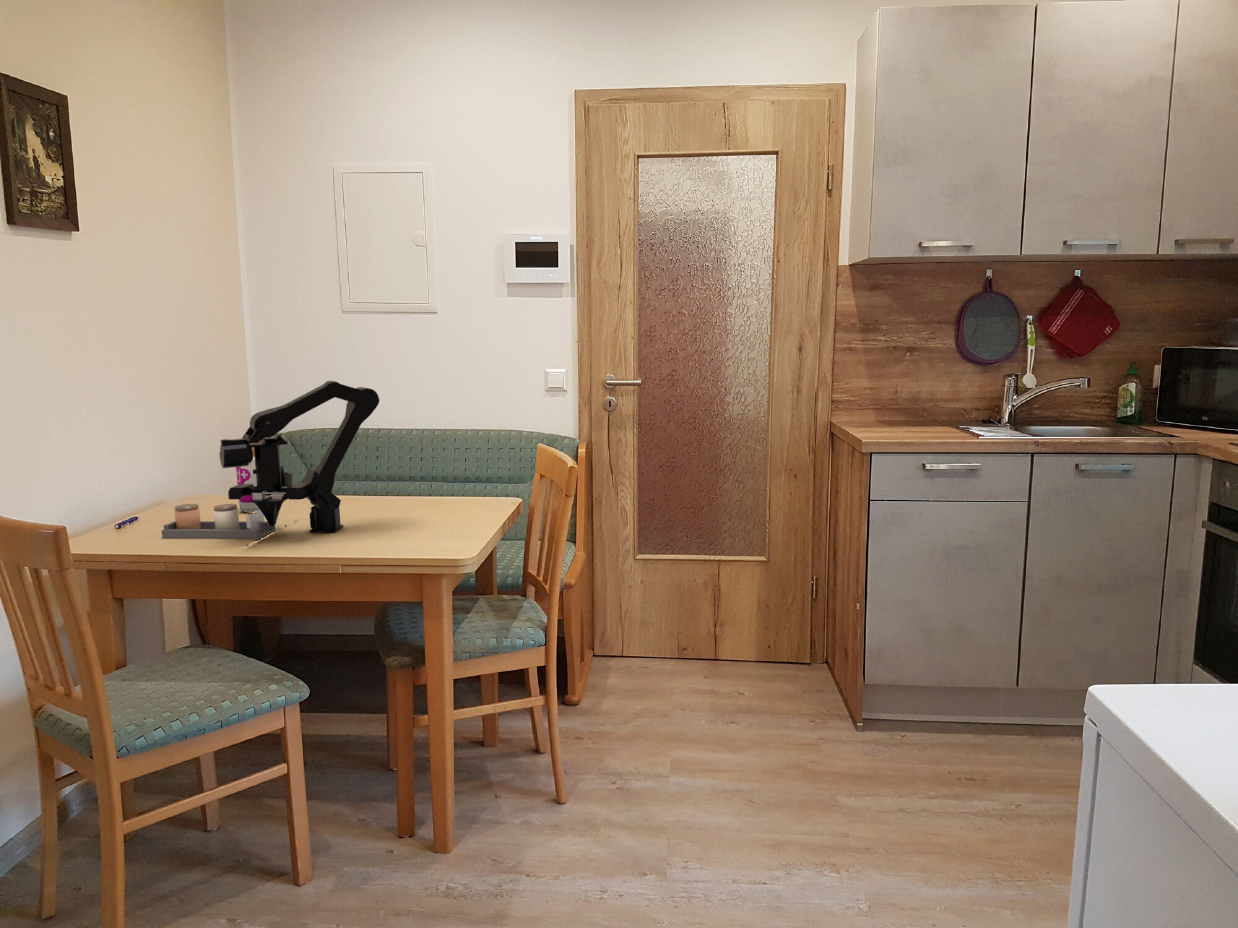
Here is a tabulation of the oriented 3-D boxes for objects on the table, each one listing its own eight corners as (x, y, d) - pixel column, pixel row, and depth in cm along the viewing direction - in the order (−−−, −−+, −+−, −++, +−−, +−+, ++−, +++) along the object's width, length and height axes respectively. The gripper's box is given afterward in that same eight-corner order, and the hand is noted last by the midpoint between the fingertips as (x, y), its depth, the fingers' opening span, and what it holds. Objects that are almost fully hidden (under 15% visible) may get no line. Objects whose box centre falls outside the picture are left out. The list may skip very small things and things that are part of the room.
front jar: (206, 530, 215) (203, 503, 213) (193, 536, 209) (191, 508, 208) (185, 530, 215) (182, 503, 214) (172, 536, 210) (169, 508, 208)
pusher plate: (265, 529, 214) (263, 510, 213) (251, 536, 207) (250, 516, 207) (261, 529, 214) (259, 510, 213) (247, 536, 207) (246, 516, 207)
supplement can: (250, 515, 236) (245, 461, 233) (234, 511, 241) (229, 459, 238) (277, 509, 242) (272, 457, 240) (261, 506, 247) (256, 455, 245)
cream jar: (244, 530, 214) (241, 503, 213) (232, 536, 208) (230, 508, 207) (223, 530, 214) (220, 503, 213) (211, 536, 209) (208, 508, 208)
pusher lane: (275, 532, 215) (274, 517, 215) (257, 542, 206) (256, 526, 205) (184, 532, 217) (183, 517, 216) (162, 542, 208) (161, 526, 207)
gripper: (318, 458, 215) (322, 518, 217) (247, 458, 216) (252, 518, 219) (299, 466, 204) (304, 529, 206) (224, 466, 205) (230, 528, 208)
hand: (272, 525), depth 210 cm, fingers closed
